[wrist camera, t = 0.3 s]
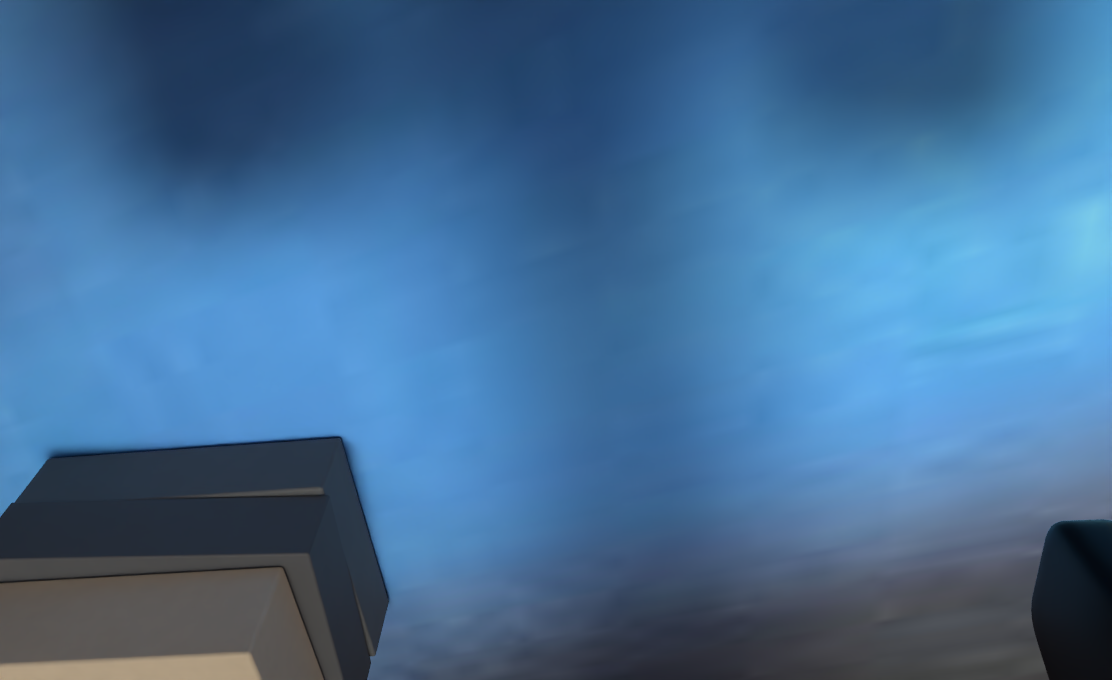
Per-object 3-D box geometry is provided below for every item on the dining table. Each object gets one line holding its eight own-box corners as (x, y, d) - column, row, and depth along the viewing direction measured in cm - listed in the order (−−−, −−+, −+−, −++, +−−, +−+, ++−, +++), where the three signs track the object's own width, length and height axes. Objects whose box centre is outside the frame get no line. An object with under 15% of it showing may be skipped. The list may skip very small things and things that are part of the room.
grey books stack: (345, 429, 25) (304, 540, 21) (396, 605, 28) (367, 725, 25) (39, 451, 26) (-47, 561, 22) (124, 620, 29) (60, 738, 26)
